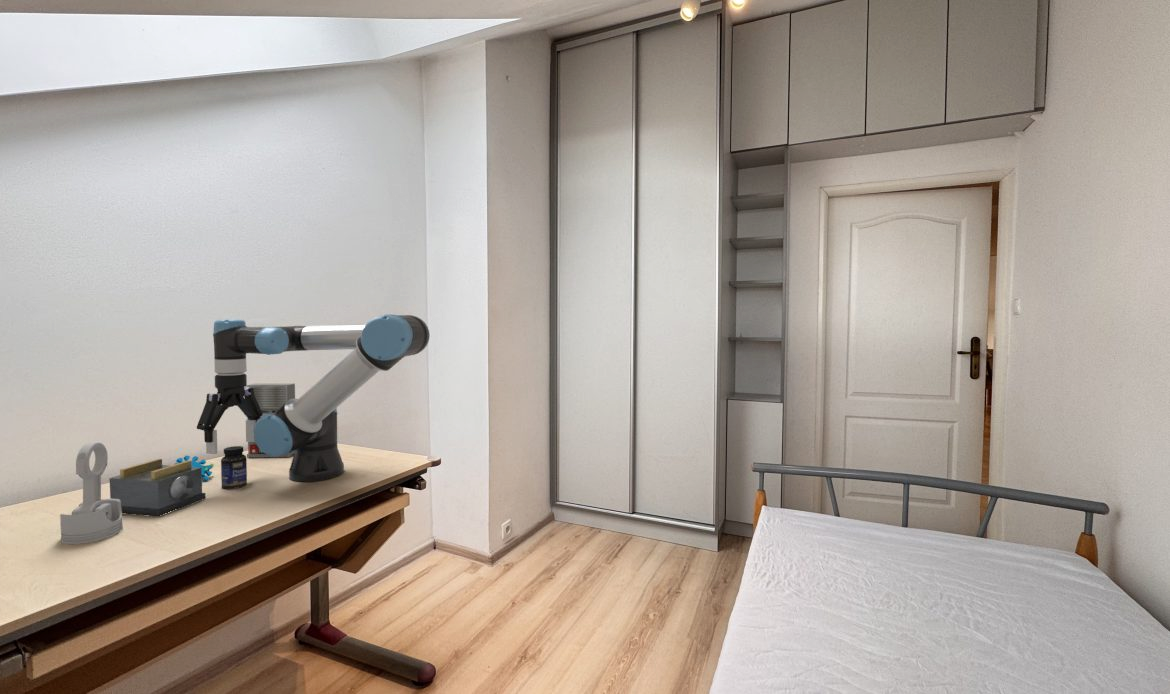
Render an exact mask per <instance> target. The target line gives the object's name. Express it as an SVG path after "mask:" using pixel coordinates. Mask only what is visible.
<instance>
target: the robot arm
mask: <svg viewBox="0 0 1170 694" xmlns="http://www.w3.org/2000/svg"><path fill="white" fill-rule="evenodd" d="M430 335H431V334H430V329H429V327H428V325H427V323H426V322H425V321H424V320H423V319H422V318H419V317H418V316H415V315H411V314H409V315H408V314H406V315H405V314H398V315H397V314H391V313H390V314H384V315H379V316H376V317H373V318H372V319H370V320H369V321H368V322H367V323H351V324H349V323H346V324H321V325H293V326H291V325H290V326H247V325H246V320H244V319H232V318H231V319H230V318H229V319H216V320H215V321H214V323H213V332H212V337H213V351H214V352H213V353H214V354H213V355H214V360H213V361H214V362H213V363H214V374H215V375H214V388H216V389H217V391H216V393H207V394H206V400H205V404H204V407H203V409H202V412H201V415H200V417H199V420H198V422H197V425H196V429H197V430H201V431H203V433H204V434H203V436H204V438H203V439H204V443H205V446H206V447H205V451H206V455H207V454H209V455H218V430H217V429H215V428H216V426H217V425H218V423H219V422H220V420H221V419H222V416H224V414H225V412H226V411H227V410H228V409H229V408H232V407H234V406H235V407H236V406H237V408H239V410H241V412H242V413H243V414H244V416H245V417H246V419H245V440H246V441H245V442H247V443H248V442H255V443H256V445H257V446H258V448H259V449H260V450H261V451H262V452H264V453H265V454H267V455H271V456H280V455H284V454H285V455H286V454H288V453H289V452H291V451H294V450H295V454H294V455H293V458H292V460H291V463H290V467H289V469H288V474H289V475H288V478H289V480H291V481H294V482H295V481H296V482H302V481H303V482H305V483H307V482H319V481H325V480H330V479H332V478H333V479H334V478H336V477H338V476H342V475H343V473H344V472H345V465H344V462H343V458H342V456H341V454H340V451H339V447H338V410H337V408H338V407H340V405H342V404H343V403H344V402H345V401H346V400H347V399H348V398H350V397H351V396H352V395H353V394H354V393H355V392H357V391H358V390H359V389H360V388H361V387H362V386H363V385H365V384H366V383H367V382H368V381H369V380H370V379H372V378H373V377H374V376H376V375H377V373H378V372H379V371H382V372H387V371H389V370H390V369H392V368H393V367H394V366H395V365H396V364H398V363H399V362H400V361H401V360H403V358H405V357H409V356H414V355H417V354H420V353H421V352H423V350H425V348H426V347H427V346H428V344H429V341H430V337H431V336H430ZM328 350H329V351H333V350H334V351H337V350H341V351H342V350H352V351H351V352H350V353H348V355H346V356H345V357H344V358H343V359H342V360H341V361H339V363H337V364H336V365H335V366H334V367H333V368H332V369H330V371H328V372H327V373H326V374H325V375H324V376H322V378H320V379H319V380H318V381H317V382H316V383H315V384H314V385H312V386H311V387H310V388H309V389H308V390H307V391H306V392H305V393H304V394H301V396H300V397H299V398H295V399H290V400H289V401H287V402H286V403H285V404H284V405H282V406H281V407H280V408H279V409H278V410H277V411H276V412H274V413H272V414H267V415H265V416H263V417H261V418H260V416H262V415H263V413H262V411H261V409H260V407H259V404H258V402H257V400H256V398H255V395H254V389H253V388H248V387H246V385H248V384H247V383H248V382H247V379H248V377H247V374H246V372H247V370H248V369H247V354H259V355H267V356H268V355H269V356H270V355H281V354H282V353H285V352H300V351H301V352H303V351H305V352H306V351H328ZM256 411H257V412H256ZM247 418H248V419H249V420H247ZM257 420H258V421H257Z"/></svg>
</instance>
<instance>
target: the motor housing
mask: <svg viewBox="0 0 1170 694" xmlns="http://www.w3.org/2000/svg"><path fill="white" fill-rule="evenodd" d="M191 461H192V460H189V461H185V460H184V461H183V462H182V463H178V462H177V463H178V464H175V463H174V464H175V465H174V464H173V465H172V464H171V465H167V464H166V465H164V464H163V459H162V458H156V459H154V460H150V461H147V462H143V463H139V464H135V465H131V466H129V467H125V468H121V469H119V471H120V473H119V474H120V475H116V476H112V477H109V478H108V479H109V496H110V498H109V499H119V500H120V501H121V509H122V513H126V514H125V515H132V514H136V515H135V516H144V515H149V516H148V517H155V516H160V515H162V516H164V515H163V514H165V513H167V514H169V513H168V512H170V511H173V510H175V509H178V510H179V508H180V509H182V507H183V508H185V507H187V505H188V506H189V505H190V506H191V505H192V503H193V504H195V503H197V501H198V502H200V501H203V500H206V499H205V498H207V496H206V492H203V477H202V472H201V468H199V467H191ZM202 499H203V500H202ZM184 506H185V507H184ZM175 511H176V510H175ZM173 512H174V511H173ZM170 513H171V512H170ZM165 515H166V514H165ZM160 517H161V516H160Z"/></svg>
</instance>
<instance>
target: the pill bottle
mask: <svg viewBox="0 0 1170 694" xmlns="http://www.w3.org/2000/svg"><path fill="white" fill-rule="evenodd" d="M243 452H244V447H243V446H241V445H235V446H229V447H225V448H223V454H224V456H223V457H222V458H221V459H220V468H221V469H220V473H221V474H220V475H221V478H220V479H221V488H223V489H226V490H227V489H228V490H231V489H232V490H233V489H238V488H241V487H244V486H247V483H248V470H247V469H248V468H247V467H248V466H247V465H248V464H247V455H245V454H244V453H243Z"/></svg>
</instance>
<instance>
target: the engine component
mask: <svg viewBox="0 0 1170 694" xmlns="http://www.w3.org/2000/svg"><path fill="white" fill-rule="evenodd" d="M93 453H94V457H95V458H94V459H95V461H94V466H93V467H92V469H91V467H90V458H91V455H92V454H93ZM75 459H76V460H75V474H76V475H77V476H79V478H80V479H82V502H81V503H79V504H78V506H76V508H74V509H72V511H71V514H66V513H61V514H60V515H59V516H60V517H59V518H60V522H59V523H60V525H59V526H60V538H61V539H60V541H61V543H62V544H64V545H81V543H83V544H87V543H88V542H90V543H94V542H98V541H97V540H99V541H102V540H105V539H104V538H106V539H108V538H107V537H109V538H111V537H114V536H116V535H117V533H118V534H120V533H121V532H122V531H123V530H124V529H123V514H122V509H121V501H120V500H119V499H110V498H102V475H103V474H104V472H105V470H106V469H107V467H108V459H109V458H108V451H107V448H106V446H105V444H104V443H102V442H88V443H85V444H84V445H82V446H81V448H80V449H79V450H78V453H77V455H76V458H75ZM122 529H123V530H122ZM121 530H122V531H121ZM120 531H121V532H120ZM119 532H120V533H119ZM115 534H116V535H115ZM113 535H114V536H113ZM110 536H111V537H110ZM101 539H102V540H101ZM93 541H94V542H93ZM88 544H89V543H88Z"/></svg>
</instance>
